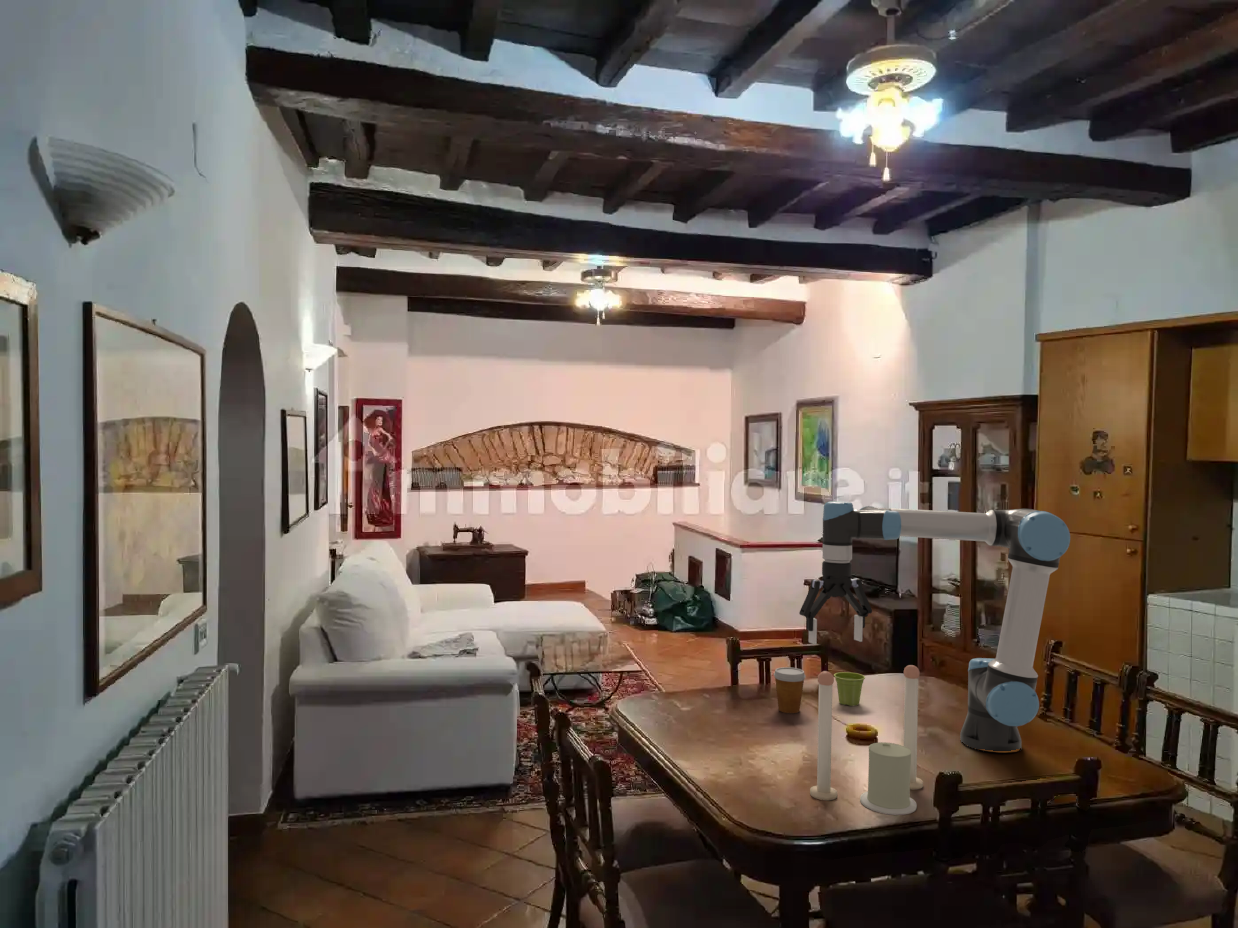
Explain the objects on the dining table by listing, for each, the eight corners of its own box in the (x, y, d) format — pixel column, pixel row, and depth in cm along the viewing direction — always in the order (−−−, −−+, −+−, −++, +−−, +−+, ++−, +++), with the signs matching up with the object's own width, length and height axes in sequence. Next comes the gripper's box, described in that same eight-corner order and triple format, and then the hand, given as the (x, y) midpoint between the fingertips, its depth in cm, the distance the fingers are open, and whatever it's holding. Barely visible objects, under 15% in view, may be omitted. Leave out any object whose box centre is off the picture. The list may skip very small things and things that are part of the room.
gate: (912, 778, 204) (914, 661, 204) (928, 787, 199) (930, 667, 198) (805, 791, 196) (807, 668, 195) (818, 801, 190) (821, 675, 189)
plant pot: (827, 700, 269) (828, 672, 268) (853, 697, 271) (854, 670, 271) (844, 708, 260) (844, 680, 260) (870, 706, 262) (871, 678, 262)
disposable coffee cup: (805, 716, 252) (806, 675, 252) (772, 713, 254) (773, 673, 253) (804, 706, 261) (805, 667, 261) (773, 704, 263) (774, 665, 263)
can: (901, 792, 194) (902, 740, 194) (916, 809, 185) (918, 754, 185) (861, 791, 194) (862, 739, 194) (874, 808, 185) (876, 754, 185)
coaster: (915, 796, 193) (915, 794, 193) (917, 818, 182) (917, 815, 182) (860, 789, 197) (861, 787, 197) (859, 810, 186) (859, 807, 185)
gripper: (869, 557, 229) (868, 636, 229) (787, 560, 221) (785, 641, 222) (886, 561, 222) (885, 642, 222) (801, 563, 214) (800, 647, 215)
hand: (835, 641), depth 222 cm, fingers open, 13 cm apart
